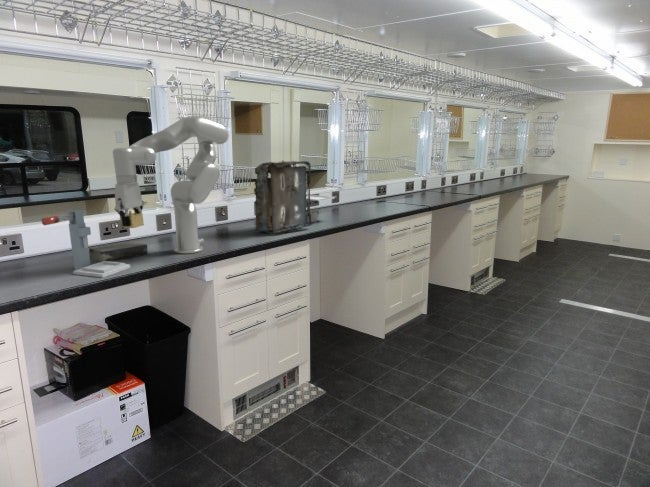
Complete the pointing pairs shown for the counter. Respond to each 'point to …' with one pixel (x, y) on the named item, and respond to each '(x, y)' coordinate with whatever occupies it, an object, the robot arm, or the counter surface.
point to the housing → (134, 220)
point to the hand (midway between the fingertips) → (132, 224)
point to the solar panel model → (316, 198)
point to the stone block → (118, 251)
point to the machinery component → (282, 196)
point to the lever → (58, 219)
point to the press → (82, 252)
